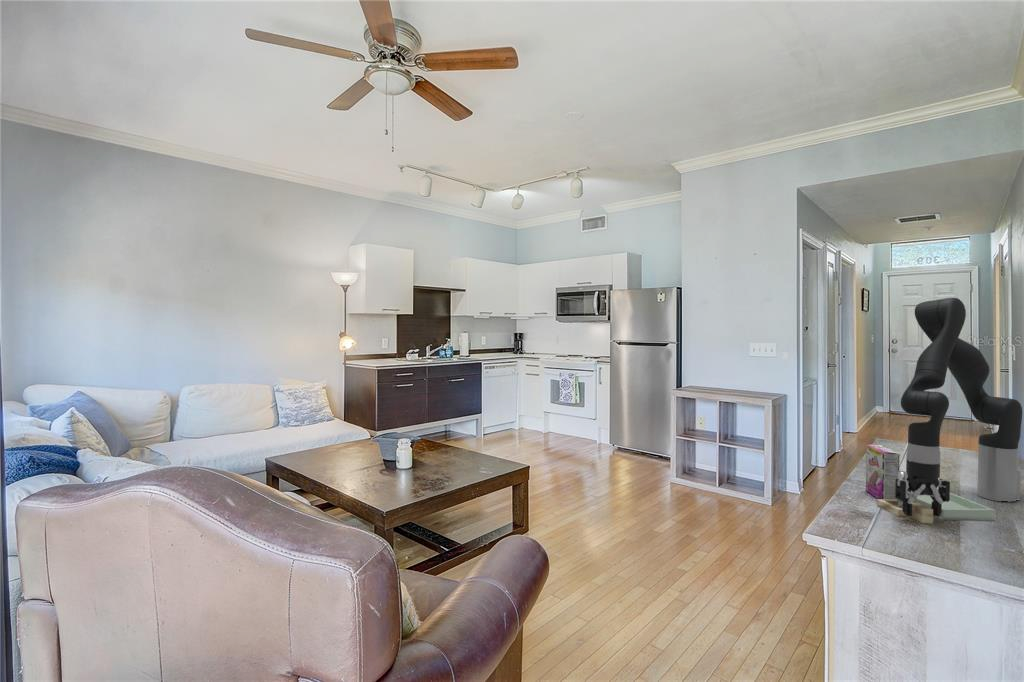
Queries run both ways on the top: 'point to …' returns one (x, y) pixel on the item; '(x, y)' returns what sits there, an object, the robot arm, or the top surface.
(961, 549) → the top surface
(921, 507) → the wooden frame with handle
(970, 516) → the tray
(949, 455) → the top surface
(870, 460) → the candy bar box
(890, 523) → the top surface
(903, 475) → the steel post
